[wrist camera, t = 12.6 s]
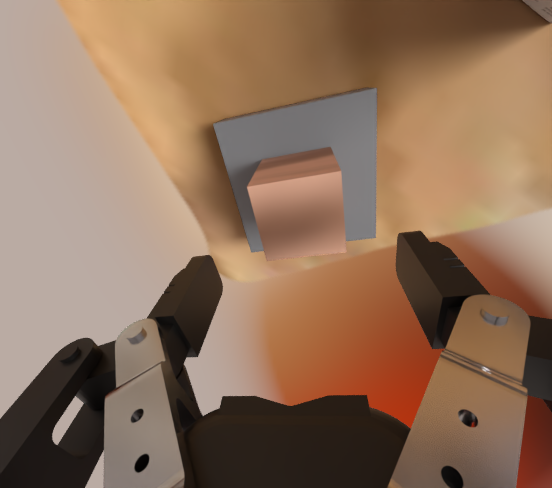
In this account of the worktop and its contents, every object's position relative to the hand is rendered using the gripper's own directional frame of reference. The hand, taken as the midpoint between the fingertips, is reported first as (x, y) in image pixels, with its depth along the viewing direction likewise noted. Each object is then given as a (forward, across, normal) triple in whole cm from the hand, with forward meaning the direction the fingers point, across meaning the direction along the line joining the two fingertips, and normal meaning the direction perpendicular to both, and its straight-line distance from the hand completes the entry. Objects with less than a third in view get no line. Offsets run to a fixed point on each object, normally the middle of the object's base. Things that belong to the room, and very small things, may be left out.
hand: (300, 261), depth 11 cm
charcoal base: (+13, 0, 0) cm, 13 cm away
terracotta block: (+10, 0, 0) cm, 10 cm away
